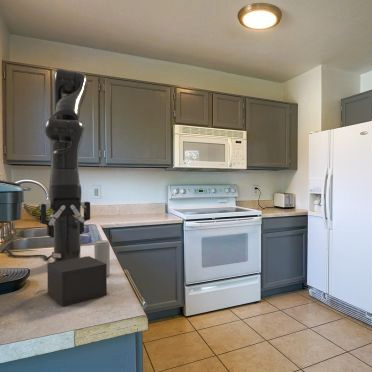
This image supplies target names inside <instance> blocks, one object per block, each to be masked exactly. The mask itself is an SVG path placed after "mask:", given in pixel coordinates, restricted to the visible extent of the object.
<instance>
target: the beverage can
mask: <svg viewBox="0 0 372 372" xmlns="http://www.w3.org/2000/svg"><path fill="white" fill-rule="evenodd" d="M110 243H111V242H110V240H107V239H106V240H97V241H94V249H93V250H94V259H97V260H99V261H101V262H103V263H106V264H107V277H108V276H109V275H110V274H111V268H110V267H111V265H110V264H111V262H110V261H111V259H110V257H111V255H110V253H111V252H110V247H111V246H110V245H111V244H110Z"/></svg>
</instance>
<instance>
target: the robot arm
mask: <svg viewBox="0 0 372 372" xmlns="http://www.w3.org/2000/svg"><path fill="white" fill-rule="evenodd" d="M52 81H53V82H52V83H53V85H52V89H53V91H52V93H53V113H52V115H51V116H49V118H47V121H46V122H45V124H44V128H43V129H44V135H45V137H46V139H48V140H49V141H50V142H51V165H50V174H49V183H48V191H47V193H48V200H49V203H39V205H38V216H39V217H38V218H39V219H38V220H39V221H38V222H39V224H42V225H45V226H46V235H47V236H48V237H49V238H51V239H52V238H53V251H51V254H50V255H49V256H48V255H46V254H13V253H12V251H11V250H9V249H7V248H4V249H2V250H1V253H4V252H7V253H8V254H9V256H10V257H13V258H36V257H40V258H41V257H42V258H44V261H48V260H50V259H53V262H56V261H63V260H69V259H75V258H81V257H82V256H81V251H82V249H81V235H83V233H84V232H85V222H86V221H87V222H88V221H90V220H91V202H90V201H82V185H81V183H80V182H81V181H80V173H79V153H80V147H81V144H82V141H83V139H84V135H85V127H84V124H83V123H82V122H81V121H80V116H81V115H80V114H81V108H82V106H83V103H84V101H85V98H86V96H87V92H88V78H87V76H86V74H85V73H83V72H81V71H75V70H70V69H66V68H65V69H64V68H55V70H54V72H53V79H52ZM49 209H51V210H52V211H53V212H52V213H51V214H50V216H49V217H48V219H47V212H48V211H49ZM82 209H83V216H82V214H81V213H82Z"/></svg>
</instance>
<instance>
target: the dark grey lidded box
mask: <svg viewBox="0 0 372 372" xmlns="http://www.w3.org/2000/svg"><path fill="white" fill-rule="evenodd" d="M46 265H47V271H46V272H47V295H49V296H50V297H51V298H52V299H53V300H54V301H55V302H57V303H58V304H59V306H61V307H65V306H69V305H73V304H76V303H81V302H85V301H88V300H93V299H97V298H99V297H104V296H107V295H108V287H107V286H108V284H107V283H108V282H107V281H108V278H107V277H108V276H107V264H106V263H103V262H101V261H99V260H97V259H95V257H92V256H89V255H88V256H81V258H75V259H69V260H63V261H56V262H54V261H51V262H47V264H46Z"/></svg>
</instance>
